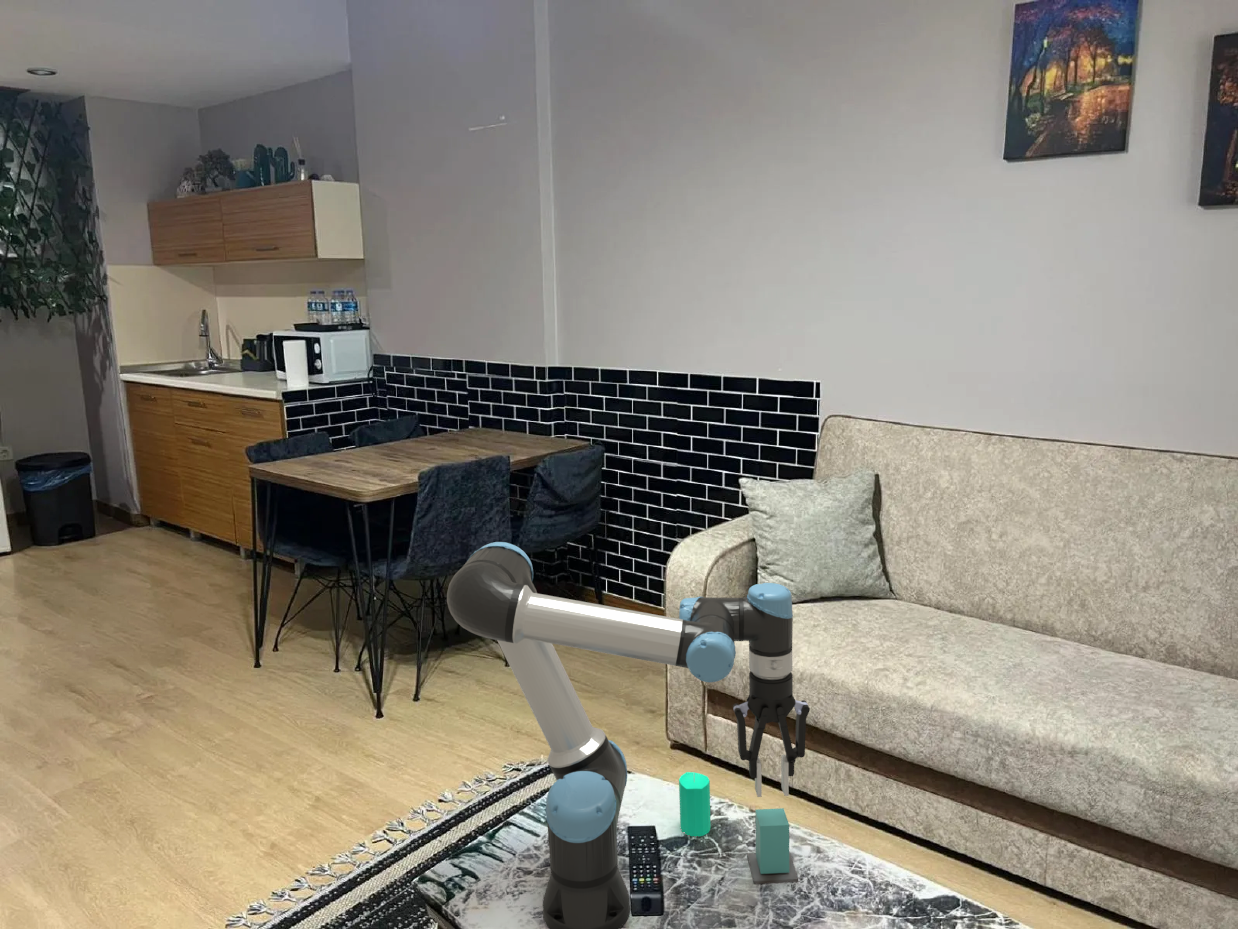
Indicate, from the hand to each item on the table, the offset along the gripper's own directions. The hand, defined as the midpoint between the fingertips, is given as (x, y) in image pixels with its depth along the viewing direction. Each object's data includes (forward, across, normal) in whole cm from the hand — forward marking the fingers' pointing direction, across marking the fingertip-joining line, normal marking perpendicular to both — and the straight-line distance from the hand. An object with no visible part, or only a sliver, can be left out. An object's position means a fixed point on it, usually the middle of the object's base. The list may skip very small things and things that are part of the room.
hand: (771, 792), depth 165 cm
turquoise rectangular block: (+15, 0, 0) cm, 15 cm away
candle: (+16, -13, +14) cm, 25 cm away
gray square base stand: (+16, 0, 0) cm, 16 cm away
